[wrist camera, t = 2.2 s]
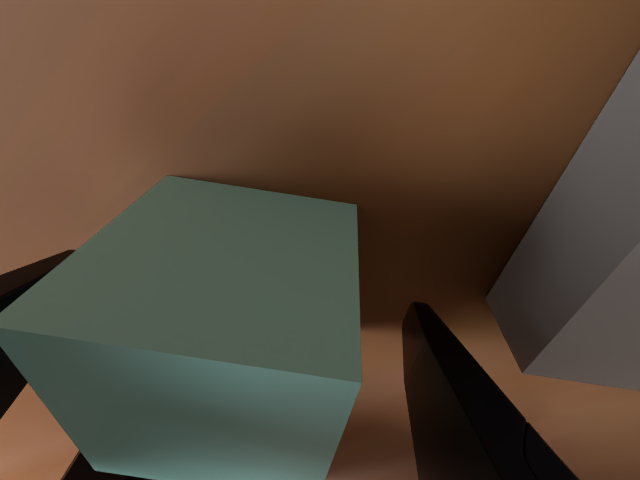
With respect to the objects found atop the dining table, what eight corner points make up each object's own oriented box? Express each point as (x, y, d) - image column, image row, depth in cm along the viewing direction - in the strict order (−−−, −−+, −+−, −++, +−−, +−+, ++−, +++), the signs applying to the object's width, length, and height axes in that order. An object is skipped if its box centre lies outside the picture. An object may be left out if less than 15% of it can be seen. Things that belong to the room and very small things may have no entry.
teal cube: (329, 326, 11) (315, 503, 7) (190, 304, 11) (94, 470, 7) (356, 203, 8) (361, 383, 4) (168, 174, 8) (-16, 325, 4)
